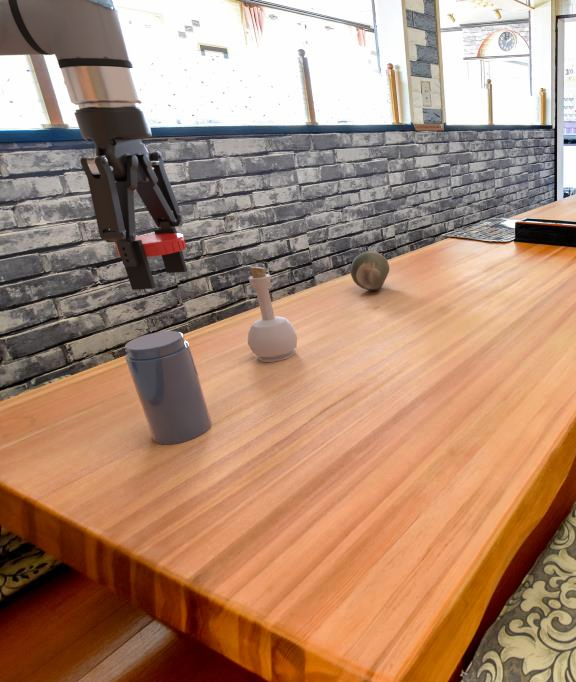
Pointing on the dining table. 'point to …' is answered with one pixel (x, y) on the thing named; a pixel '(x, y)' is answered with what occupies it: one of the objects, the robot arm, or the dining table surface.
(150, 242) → the lid
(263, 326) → the potion bottle
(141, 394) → the grey storage canister
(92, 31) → the robot arm
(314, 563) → the dining table surface
